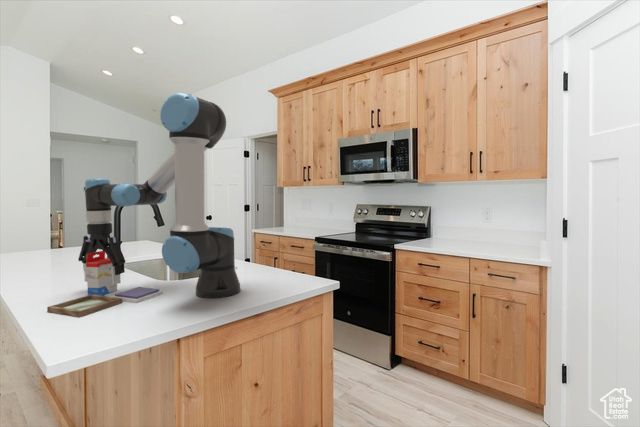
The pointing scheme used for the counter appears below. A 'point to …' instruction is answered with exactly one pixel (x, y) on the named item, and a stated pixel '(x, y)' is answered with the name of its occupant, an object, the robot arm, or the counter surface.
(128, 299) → the ink pad
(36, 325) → the counter surface
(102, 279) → the ink box
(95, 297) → the frame
